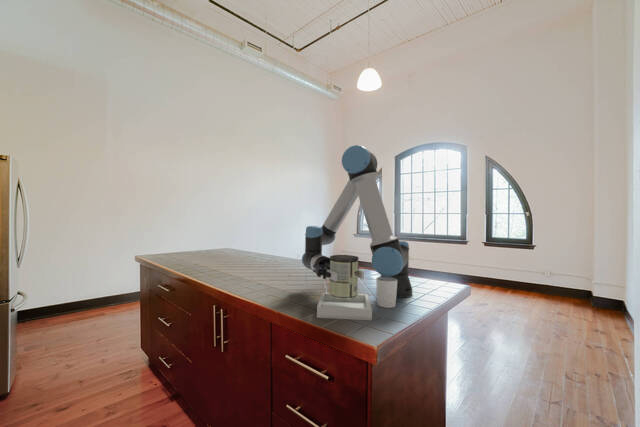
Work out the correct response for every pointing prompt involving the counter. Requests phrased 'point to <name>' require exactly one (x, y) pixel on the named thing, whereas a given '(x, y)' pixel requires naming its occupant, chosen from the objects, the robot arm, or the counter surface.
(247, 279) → the counter surface
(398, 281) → the robot arm
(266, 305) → the counter surface
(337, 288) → the coffee can
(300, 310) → the counter surface
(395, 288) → the white cup
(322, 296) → the tray
